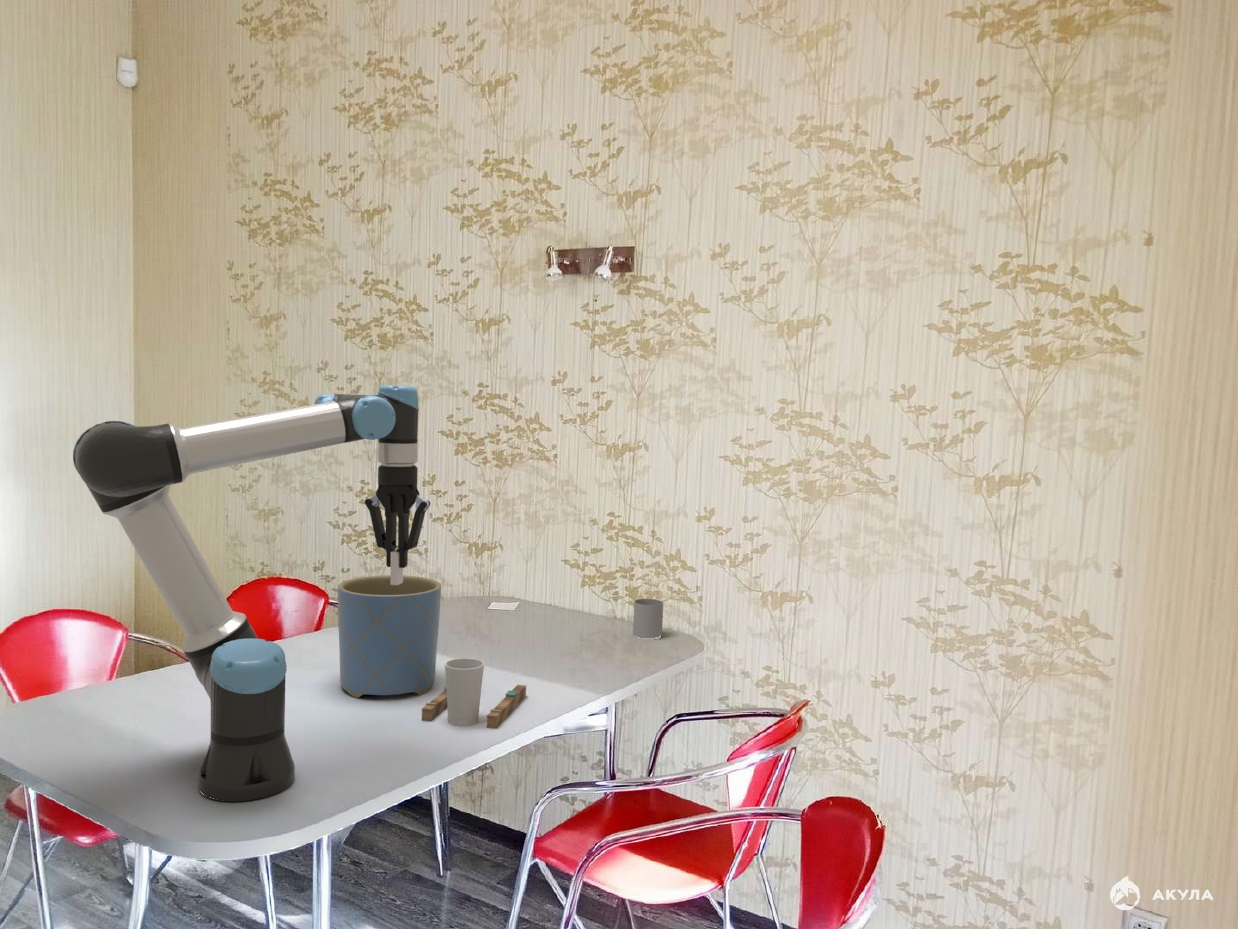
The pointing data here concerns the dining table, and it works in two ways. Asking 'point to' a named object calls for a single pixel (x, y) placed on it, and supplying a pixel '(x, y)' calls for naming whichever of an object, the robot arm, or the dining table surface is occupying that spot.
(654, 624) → the cup
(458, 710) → the cup
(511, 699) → the channel
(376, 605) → the planter
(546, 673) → the dining table surface
